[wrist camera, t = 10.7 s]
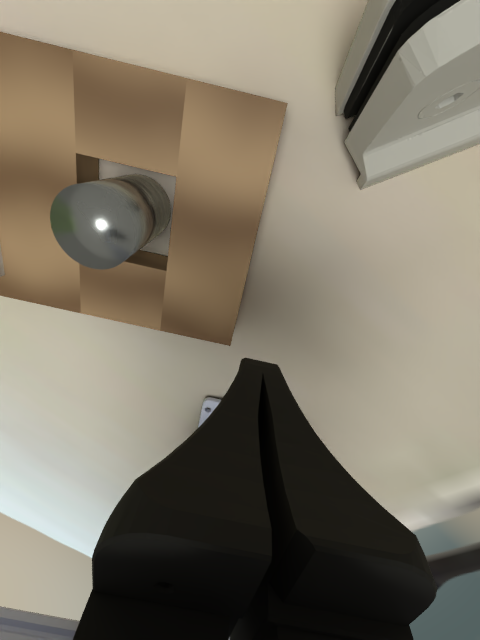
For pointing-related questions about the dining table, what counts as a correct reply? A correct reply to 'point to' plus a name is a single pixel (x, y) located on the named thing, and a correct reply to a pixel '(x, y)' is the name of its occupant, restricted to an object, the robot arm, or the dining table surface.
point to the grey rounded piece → (411, 85)
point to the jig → (142, 152)
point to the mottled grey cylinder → (109, 219)
